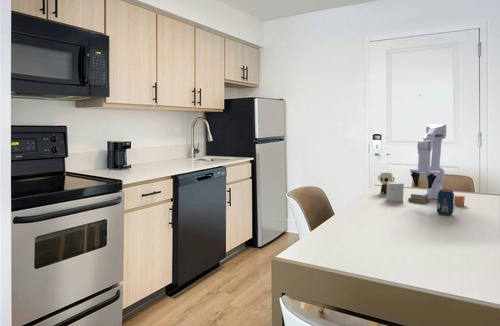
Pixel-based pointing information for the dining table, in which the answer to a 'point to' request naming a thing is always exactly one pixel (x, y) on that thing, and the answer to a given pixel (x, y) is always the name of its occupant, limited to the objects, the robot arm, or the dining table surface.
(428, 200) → the walnut base slab
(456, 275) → the dining table surface
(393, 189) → the small box
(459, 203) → the orange round piece
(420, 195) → the grey top slab
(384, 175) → the big headed toy figurine
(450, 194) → the soda can
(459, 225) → the dining table surface
